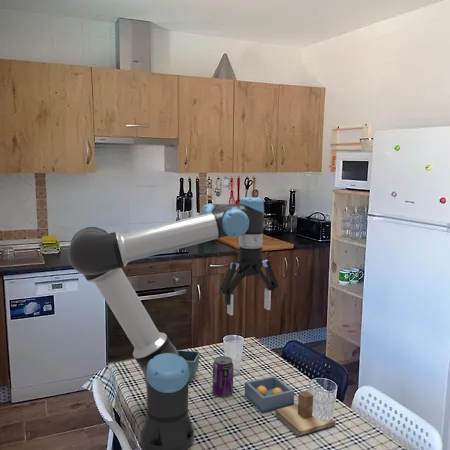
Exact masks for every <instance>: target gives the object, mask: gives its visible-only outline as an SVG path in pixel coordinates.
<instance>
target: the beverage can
mask: <svg viewBox="0 0 450 450" xmlns="http://www.w3.org/2000/svg"><path fill="white" fill-rule="evenodd" d="M211 390H212V393H213V395H216V396H219V397H227V396H230V395H232V393H233V392H234V363H233V359H232V358H231V357H230V356H225V355H223V356H222V355H220V356H216V357H215V358H214V360H213V364H212V389H211Z"/></svg>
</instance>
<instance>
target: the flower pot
mask: <svg viewBox="0 0 450 450" xmlns="http://www.w3.org/2000/svg"><path fill="white" fill-rule="evenodd" d="M177 351H178V354H179V356H181V357H183V358H184V359H185V360H186V362H187V364H188V369H189V379H188V383H191V382H192V381H193V380H194V377H195V375H196V373H197V371H198V368H199V365H200V364H199V363H200V362H199V361H200V356H201V352H200V351H197V350H196V351H193V350H181V349H178V350H177Z"/></svg>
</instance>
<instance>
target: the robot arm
mask: <svg viewBox="0 0 450 450" xmlns="http://www.w3.org/2000/svg"><path fill="white" fill-rule="evenodd" d="M238 202H239V203H236V204H235V203H234V204H233V203H231V204H230V203H221V204H220V203H212V204H211V203H209V204H204V205H203V206H202V208H201V211H200V212H201V213H200V214H201V215H196V216H191V217H188V218H184V219H179V220H175V221H171V222H167V223H163V224H159V225H154V226H151V227H145V228H142V229H137V230H134V231H129V232H126V233H121V232H118V231H112V232H107V231H106V230H105V229H103V228H102V227H99V226H86V227H83V228H81V229H80V230H78V231H77V232H76V233H75V234H74V235H73V237H72V238H71V240H70V244H69V247H68V250H67V251H68V252H67V256H68V260H69V263H70V265H71V267H72V268H73V269H74V270H75V271H76V272H78V273H80V274H82V275H83V277H84V278H85V279H86V281H87V282H89V283H94V284H95V286H96V287H97V289H98V290H99V292H100V294H101V295H102V297H103V299H104V301H105V302H106V303H107V305H108V307H109V308H110V311H112V313H113V315H114V316H115V319H116V320H117V322H118V323H119V325H120V326H121V328H122V329H123V332H124V333H125V334H126V337H127V338H128V340H129V341H130V343H131V344H132V346H133V347H134V350H133V351H132V356H133V358H134V360H135V361H136V363H137V364H138V366H139V368H140V369H141V371H142V373H143V375H144V382H145V387H146V416H145V418H144V419H145V420H144V422H143V425H142V428H141V431H140V445H141V447H142V449H144V450H188V449H189V448H191V447H192V445H193V444H194V441H195V429H194V426H193V423H192V421H191V418H190V414H189V382H188V379H189V369H188V364H187V362H186V360H185V359H184V358H183V357H181V356H179V354H178V351H177V349H178V348H176V347H175V346H174V345H173V343H172V342H171V340H170V339H169V337H168V335H167V334H166V333H165V332H160V331H159V330H158V327H156V325H155V323H154V321H153V320H152V317H151V316H150V314H149V313H148V311H147V310H146V307H145V306H144V304H143V302H142V301H141V299H140V298H139V296H138V294H137V292H136V291H135V289H134V287H133V286H132V284H131V282H130V281H129V279H128V277H127V275H126V274H125V272H124V271H123V269H122V268H124V267H125V268H126V266H127V264H128V263H129V262H132V261H136V260H141V259H144V258H148V257H152V256H156V255H159V254H163V253H167V252H172V251H175V250H179V249H183V248H186V247H190V246H195V245H198V244H203V243H206V242H210V241H213V240H217V239H223V238H226V237H232V238H237V237H238V245H239V247H238V263H237V262H232V261H231V262H229V265H228V270H227V272H226V274H225V276H224V279H223V281H222V283H221V286H220V287H219V292H220V293H221V294H224V303H225V304H226V305H227V306H226V309H227V310H226V314H228V315H229V316H234V294H233V292H234V291H235V290H236V288H237V287H238V285H239V284H240V283H241V281H242V280H243V279H244V278H245V277H250V276H258V278H259V279H260V280H261V282H262V283H263V285H265V287H266V288H264V299H263V301H264V303H263V308H264V309H265V310H267V311H271V304H272V303H271V300H272V299H273V297H274V296H273V295H274V291H275V290H276V288H279V284H278V281H277V280H278V279H277V278H276V276H275V274H274V272H273V269H272V262H271V260H269V259H264V260H263V251H264V249H263V247H262V246H263V243H264V218H265V217H264V214H265V205H264V200H263V199H262V198H261V197H250V196H249V197H244V196H243V197H241V198H240V200H239V201H238ZM262 267H263V268H264V270H265V273H266V275H267V276H266V275H265V274H264V272H263V271H262V270H261V268H262ZM236 271H237V272H236ZM235 274H236V275H235Z"/></svg>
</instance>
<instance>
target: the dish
mask: <svg viewBox="0 0 450 450" xmlns="http://www.w3.org/2000/svg"><path fill="white" fill-rule="evenodd" d="M244 396H245V398H246V399H247V400H248V401H249V402H250V403H251V404H252V405H254V407H255V408H256V409H257V410H258V411H260V413H261V414H265V413H269V412H273V411H276V410H277V409H280V408H284V407H288V406H292V405H295V390H294V389H293V388H291V387H290V386H289V385H287V384H286V383H285V382H284V381H282V380H281V379H280V378H279V377H277V376H276V375H271V376H267V377H264V378H258V379H253V380H249V381H244Z"/></svg>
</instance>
